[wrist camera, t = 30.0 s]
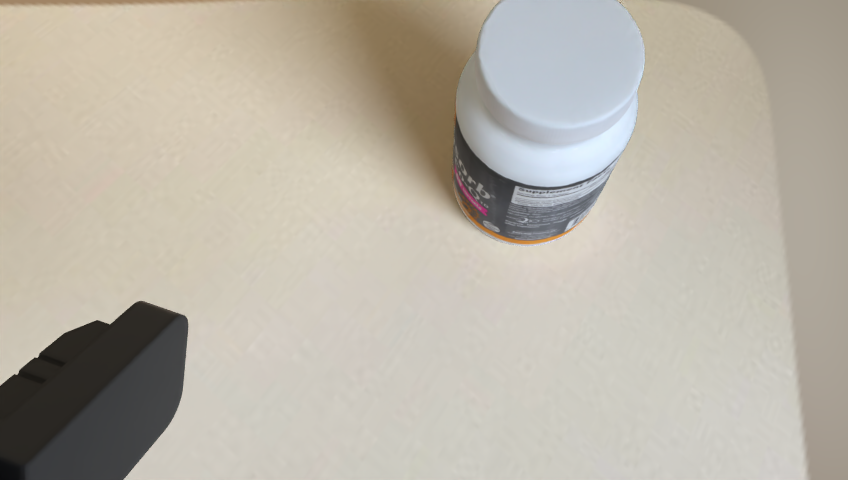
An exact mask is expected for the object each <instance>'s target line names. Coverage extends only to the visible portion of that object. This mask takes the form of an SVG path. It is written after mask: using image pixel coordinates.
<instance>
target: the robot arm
mask: <svg viewBox="0 0 848 480" xmlns="http://www.w3.org/2000/svg"><path fill="white" fill-rule="evenodd" d="M187 336H188V320H187V318H186V316H184V315H181V314H179V313H176V312H173V311H170V310H167V309H164V308H161V307H158V306H155V305H153V304H150V303H147V302H144V301H139V302H136V303H135V304H133V305H132V306H131V307H130V308H128V309H127V310H126V311H125V312H124V313H123V314H122V315H120V316H119V317H118V318H117V319H116V320H115V321H114V322H112V323H111V324H107V323H104V322H101V321H98V320H96V321H94V322H91V323H89V324H86V325H84V326H81V327H79V328H76V329H74V330H71V331H69V332H66V333H64V334H63V335H62V336H60V337H59V338H58V339H57V340H55V341H54V342H53V343H52V344H51V345H49V346H48V347H47V348H46V349H44V350H43V351H42V352H41V353H40V354H39V357H38V358H34V359H32V360H31V361H30V362H29V363H27V364H26V365H25V366H24V367H23V368H21V369H20V370H19V373H18V375H15V374H14V375H13V376H12V377H10V378H9V379H8V380H7V381H5V382H4V383H3V384H2V385H1V386H0V480H123V479H124V478H125V477H126V476H127V475H128V473H129V472H130V471H131V470H132V469H133V468H134V466H135V465H136V464H137V463H138V462H139V460H140V459H141V458H142V457H143V456H144V454H145V453H146V452H147V451H148V450H149V448H150V447H151V446H152V445H153V444H154V442H155V441H156V440H157V439H158V438H159V437H160V435H161V434H162V433H163V432H164V431H165V429H166V428H167V427H168V425H169V424H170V422H171V420H172V419H173V417H174V415H175V413H176V411H177V408H178V406H179V403H180V400H181V396H182V391H183V381H184V370H185V359H186V347H187Z"/></svg>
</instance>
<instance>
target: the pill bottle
mask: <svg viewBox="0 0 848 480" xmlns="http://www.w3.org/2000/svg"><path fill="white" fill-rule="evenodd" d="M644 64H645V50H644V43H643V39H642V35H641V33H640V30H639V28H638V26H637V24H636V22H635V21H634V19H633V18H632V16H631V15H630V13H629V12H628V11H627V10H626V9H625V8H624V6H623V5H622V4H620V3H619V2H618V1H617V0H501V1H500V2H498V3H497V4H496V5H495V7H494V8H493V9H492V10H491V11H490V13H489V14H488V16H487V18H486V19H485V21H484V23H483V25H482V27H481V30H480V32H479V37H478V41H477V47H476V51H475V52H474V53H473V54H472V56H471V57H470V59H469V60H468V62H467V64H466V65H465V67H464V69H463V72H462V74H461V76H460V79H459V83H458V87H457V92H456V101H455V118H454V146H453V166H452V181H453V187H454V192H455V196H456V199H457V201H458V204H459V206H460V208H461V210H462V211H463V213H464V214H465V216H466V217H467V218H468V220H469V221H470V222H471V223H472V224H473V225H474V226H475V227H476V228H477V229H479V230H480V231H481V232H483V233H484V234H486V235H487V236H489V237H491V238H493V239H495V240H497V241H500V242H503V243H507V244H510V245H517V246H537V245H542V244H546V243H550V242H553V241H555V240H558V239H560V238H562V237H564V236H565V235H567V234H568V233H570V232H571V231H573V230H574V229H575V228H576V227H577V226H578V225H579V224H580V223H581V222H582V221H583V220H584V219H585V217H586V216H587V215H588V213H589V212H590V210H591V209H592V207H593V206H594V204H595V202H596V200H597V198H598V197H599V195H600V193H601V191H602V190H603V188H604V186H605V184H606V182H607V180H608V178H609V176H610V174H611V172H612V171H613V169H614V167H615V165H616V163H617V161H618V160H619V158H620V156H621V154H622V153H623V151H624V149H625V147H626V145H627V144H628V142H629V140H630V138H631V135H632V133H633V130H634V127H635V124H636V119H637V111H638V94H637V89H638V87H639V84H640V81H641V79H642V76H643V71H644Z"/></svg>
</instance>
